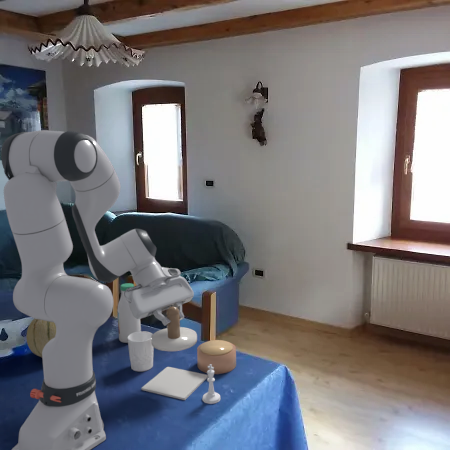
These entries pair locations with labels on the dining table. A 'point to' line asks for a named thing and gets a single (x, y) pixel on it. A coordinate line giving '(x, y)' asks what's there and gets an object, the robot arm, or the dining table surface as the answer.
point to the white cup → (140, 351)
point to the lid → (174, 334)
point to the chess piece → (211, 389)
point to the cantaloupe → (40, 335)
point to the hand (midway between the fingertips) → (174, 321)
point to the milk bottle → (126, 317)
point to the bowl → (216, 356)
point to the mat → (175, 383)
